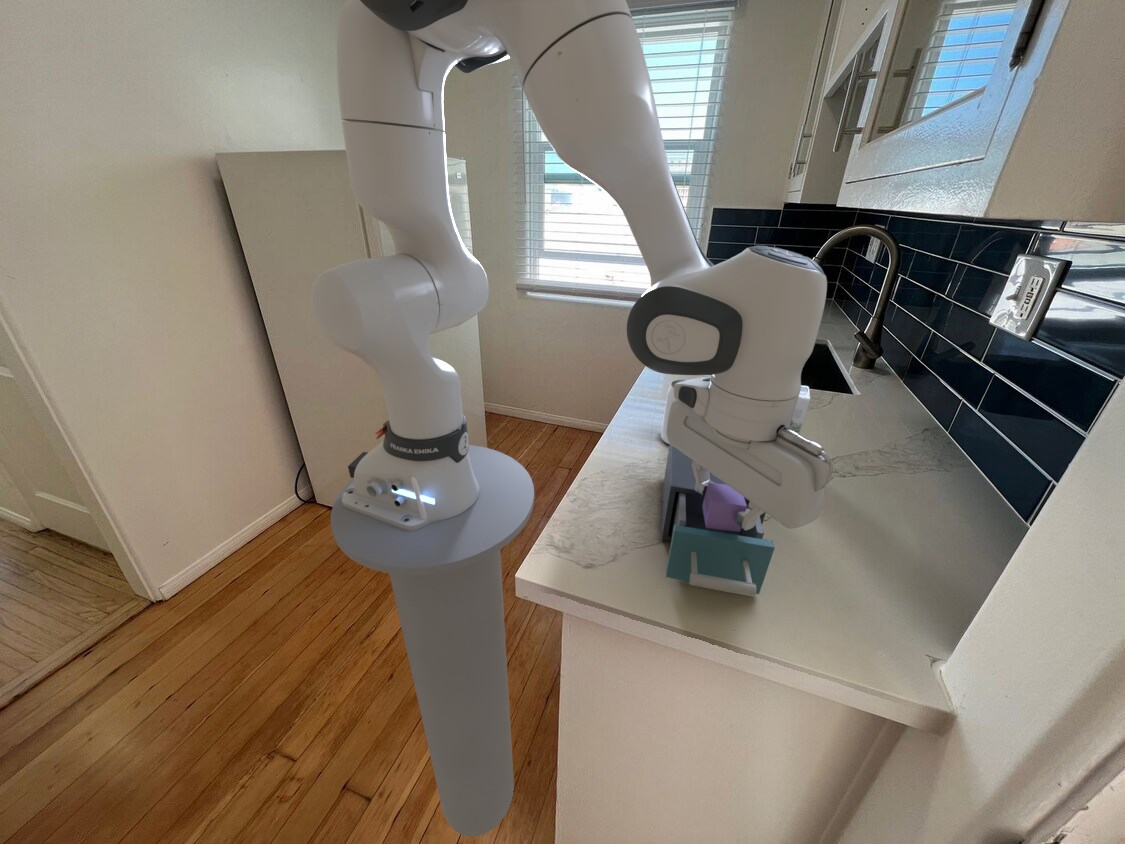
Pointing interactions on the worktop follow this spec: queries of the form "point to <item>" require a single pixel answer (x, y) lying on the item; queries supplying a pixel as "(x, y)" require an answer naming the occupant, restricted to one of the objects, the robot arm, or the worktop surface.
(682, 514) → the drawer
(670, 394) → the can
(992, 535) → the worktop surface
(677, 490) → the cabinet
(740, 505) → the purple cube
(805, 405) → the syrup box
